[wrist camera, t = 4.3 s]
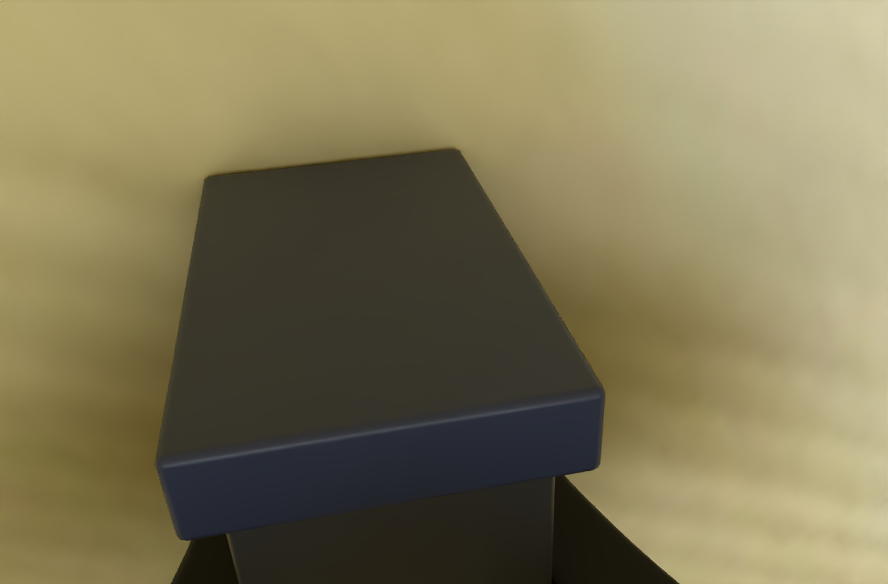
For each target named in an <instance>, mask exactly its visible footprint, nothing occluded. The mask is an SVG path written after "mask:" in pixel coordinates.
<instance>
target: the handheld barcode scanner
mask: <svg viewBox="0 0 888 584" xmlns="http://www.w3.org/2000/svg"><path fill="white" fill-rule="evenodd" d="M604 405H605V390H604V388H603V386H602V384H601V383H600V381H599V379H598V378H597V376H596V374H595V373H594V371H593V370H592V368H591V366H590V365H589V363H588V361H587V360H586V358H585V356H584V355H583V353H582V351H581V350H580V348H579V346H578V345H577V343H576V342H575V340H574V338H573V337H572V335H571V333H570V332H569V330H568V328H567V327H566V325H565V323H564V322H563V320H562V318H561V317H560V315H559V313H558V312H557V310H556V309H555V307H554V305H553V304H552V302H551V300H550V299H549V297H548V295H547V294H546V292H545V290H544V289H543V287H542V285H541V284H540V282H539V281H538V279H537V277H536V276H535V274H534V272H533V271H532V269H531V267H530V266H529V264H528V262H527V261H526V259H525V257H524V256H523V254H522V253H521V251H520V249H519V248H518V246H517V244H516V243H515V241H514V239H513V238H512V236H511V234H510V233H509V231H508V229H507V228H506V226H505V225H504V223H503V221H502V220H501V218H500V216H499V215H498V213H497V211H496V210H495V208H494V206H493V205H492V203H491V201H490V200H489V198H488V197H487V195H486V193H485V192H484V190H483V188H482V187H481V185H480V183H479V182H478V180H477V178H476V177H475V175H474V173H473V172H472V170H471V169H470V167H469V165H468V164H467V162H466V160H465V159H464V157H463V155H462V154H461V152H460V151H459V150H446V151H437V152H428V153H419V154H410V155H401V156H392V157H383V158H374V159H365V160H356V161H347V162H338V163H329V164H320V165H311V166H302V167H293V168H284V169H275V170H266V171H257V172H248V173H240V174H231V175H222V176H213V177H208V178H206V179H205V180H204V185H203V191H202V196H201V202H200V208H199V214H198V219H197V225H196V231H195V236H194V242H193V248H192V253H191V259H190V265H189V271H188V276H187V282H186V288H185V293H184V299H183V305H182V310H181V316H180V322H179V328H178V333H177V339H176V345H175V350H174V356H173V362H172V367H171V373H170V379H169V385H168V390H167V396H166V402H165V407H164V413H163V419H162V425H161V430H160V436H159V442H158V447H157V453H156V459H155V467H156V470H157V474H158V477H159V480H160V483H161V487H162V490H163V493H164V497H165V500H166V503H167V506H168V510H169V513H170V516H171V520H172V523H173V526H174V529H175V532H176V534H177V536H178V537H179V539H180V540H186V541H188V540H194V539H200V538H205V537H211V536H217V535H223V534H226V535H227V538H228V542H229V546H230V550H231V554H232V558H233V562H234V565H235V569H236V573H237V577H238V581H239V584H551V576H552V547H553V518H554V490H555V477H556V476H562V475H568V474H574V473H579V472H585V471H591V470H594V469H596V468H598V467H599V465H600V460H601V446H602V432H603V419H604Z"/></svg>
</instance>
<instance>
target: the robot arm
mask: <svg viewBox="0 0 888 584" xmlns="http://www.w3.org/2000/svg"><path fill="white" fill-rule="evenodd" d="M171 584H239V581H238V577H237V573H236V569H235V565H234V562H233V558H232V554H231V550H230V546H229V542H228V538H227V535H226V534H223V535H217V536H211V537H205V538H200V539H194V540H192V541H191V543H190V545H189V547H188V550H187V552H186V554H185V556H184V558H183V560H182V562H181V564H180V566H179V568H178V570H177V572H176V574H175V576H174V578H173V580H172V583H171ZM551 584H679V583H678V582H677V581H676V580H674V579H673V578H672V577H671V576H670V575H668V574H667V573H666V572H665V571H664V570H662V569H661V568H660V567H659V566H658V565H657V564H656V563H654V562H653V561H652V560H651V559H650V558H649V557H648V556H647V555H645V554H644V553H643V552H642V551H641V550H640V549H639V548H637V547H636V546H635V545H634V544H633V543H632V542H631V541H630V540H629V539H628V538H627V537H625V536H624V535H623V534H622V533H621V532H620V531H619V530H618V529H617V528H616V527H615V526H614V525H613V524H612V523H611V522H610V521H609V520H608V519H607V518H606V517H605V516H604V515H603V514H602V513H601V512H600V511H599V510H598V509H596V508H595V507H594V506H593V505H592V504H591V503H590V502H589V501H588V500H587V499H586V498H585V497H584V496H583V495H582V494H581V493H580V492H579V491H578V489H577V488H576V487H575V486H574V485H573V484H572V483H571V482H570V481H569V480H568V479H567V478H566V477H565V476H564V475H562V476H556V477H555V490H554V518H553V547H552V576H551Z"/></svg>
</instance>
